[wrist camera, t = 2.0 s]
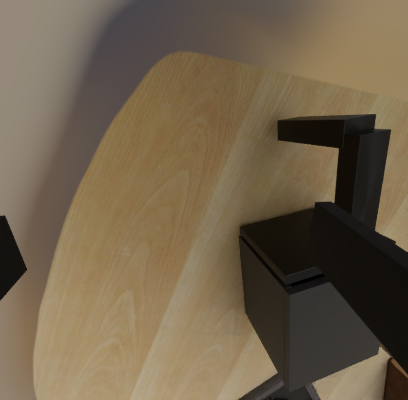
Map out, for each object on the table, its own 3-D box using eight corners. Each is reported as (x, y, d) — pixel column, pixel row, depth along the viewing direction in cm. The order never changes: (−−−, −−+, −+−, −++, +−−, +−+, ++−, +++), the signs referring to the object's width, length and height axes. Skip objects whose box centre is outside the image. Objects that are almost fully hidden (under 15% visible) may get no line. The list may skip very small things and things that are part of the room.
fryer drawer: (231, 126, 28) (299, 129, 16) (326, 111, 31) (446, 104, 19) (246, 307, 39) (294, 391, 27) (315, 284, 41) (387, 350, 29)
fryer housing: (238, 236, 34) (289, 295, 23) (316, 215, 37) (398, 259, 25) (245, 312, 40) (289, 392, 28) (312, 290, 43) (377, 354, 31)
